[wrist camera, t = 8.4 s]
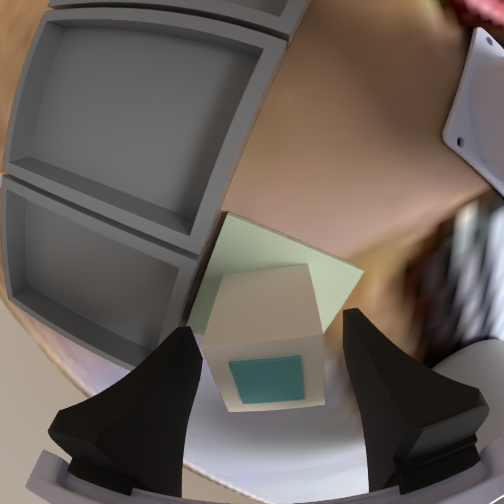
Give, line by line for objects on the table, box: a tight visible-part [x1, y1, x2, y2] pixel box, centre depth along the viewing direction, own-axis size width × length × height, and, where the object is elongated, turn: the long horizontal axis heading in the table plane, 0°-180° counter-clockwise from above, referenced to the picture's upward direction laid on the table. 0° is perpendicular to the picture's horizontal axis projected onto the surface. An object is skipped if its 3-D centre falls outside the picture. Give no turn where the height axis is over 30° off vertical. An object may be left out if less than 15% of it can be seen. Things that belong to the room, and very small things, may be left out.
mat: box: [186, 212, 364, 335], centre depth 14 cm, size 7×7×1 cm
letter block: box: [201, 264, 325, 412], centre depth 12 cm, size 4×4×5 cm
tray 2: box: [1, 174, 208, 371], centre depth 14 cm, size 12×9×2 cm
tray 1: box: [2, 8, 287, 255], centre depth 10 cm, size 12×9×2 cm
